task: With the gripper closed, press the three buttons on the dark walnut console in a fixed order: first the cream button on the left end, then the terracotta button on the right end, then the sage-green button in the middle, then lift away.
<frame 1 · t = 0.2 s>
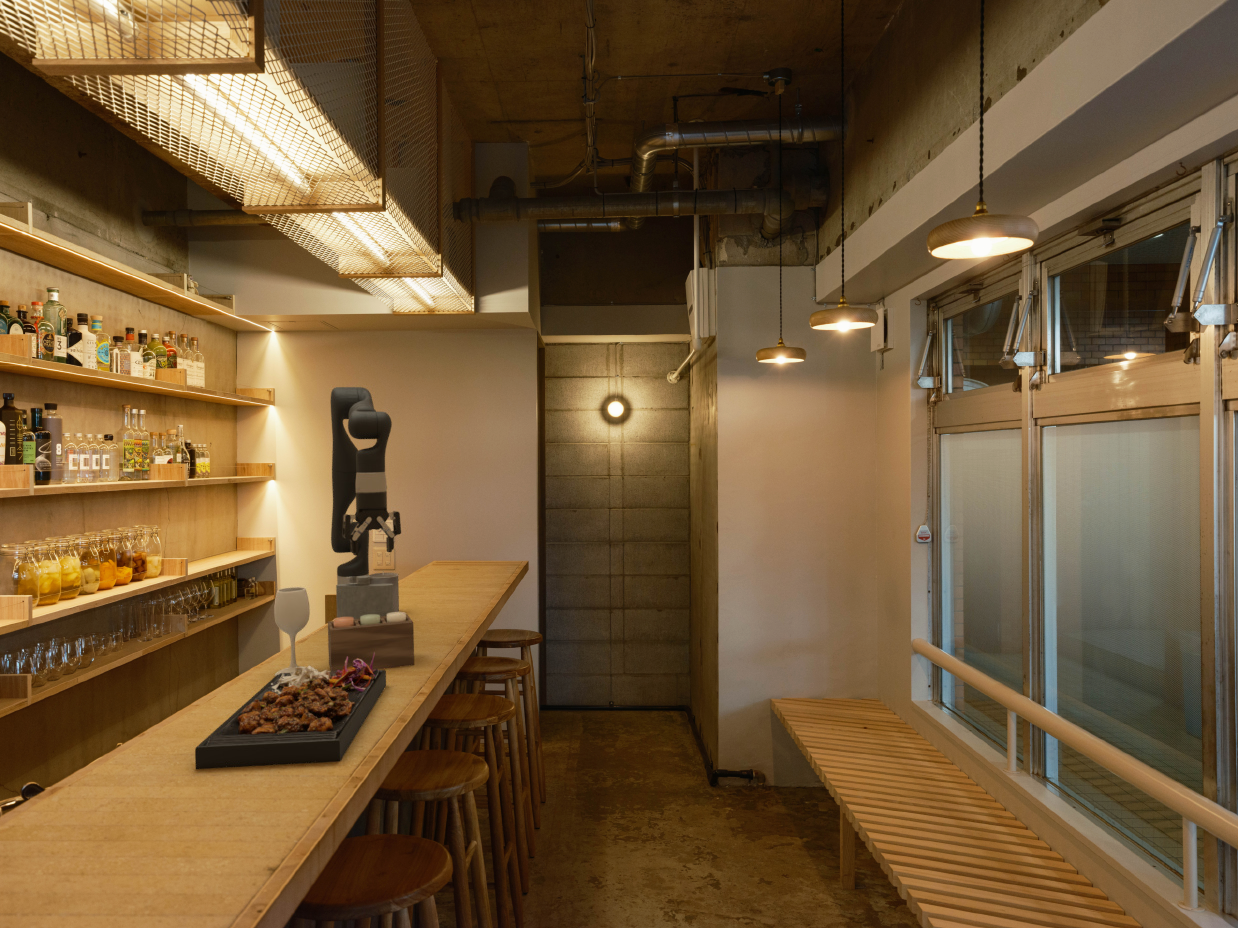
hand: (372, 553, 204), 29 cm above the table, tool pointing down, fingers open, 8 cm apart
terracotta button: (343, 625, 204), point 11 cm above the table, slide at 0.0 cm
cream button: (396, 620, 209), point 11 cm above the table, slide at 0.0 cm
sage button: (370, 622, 206), point 11 cm above the table, slide at 0.0 cm
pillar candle: (384, 616, 265), on the table
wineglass: (293, 674, 199), on the table
console: (371, 664, 206), on the table
food platter: (304, 725, 164), on the table
hip flask: (365, 647, 225), on the table
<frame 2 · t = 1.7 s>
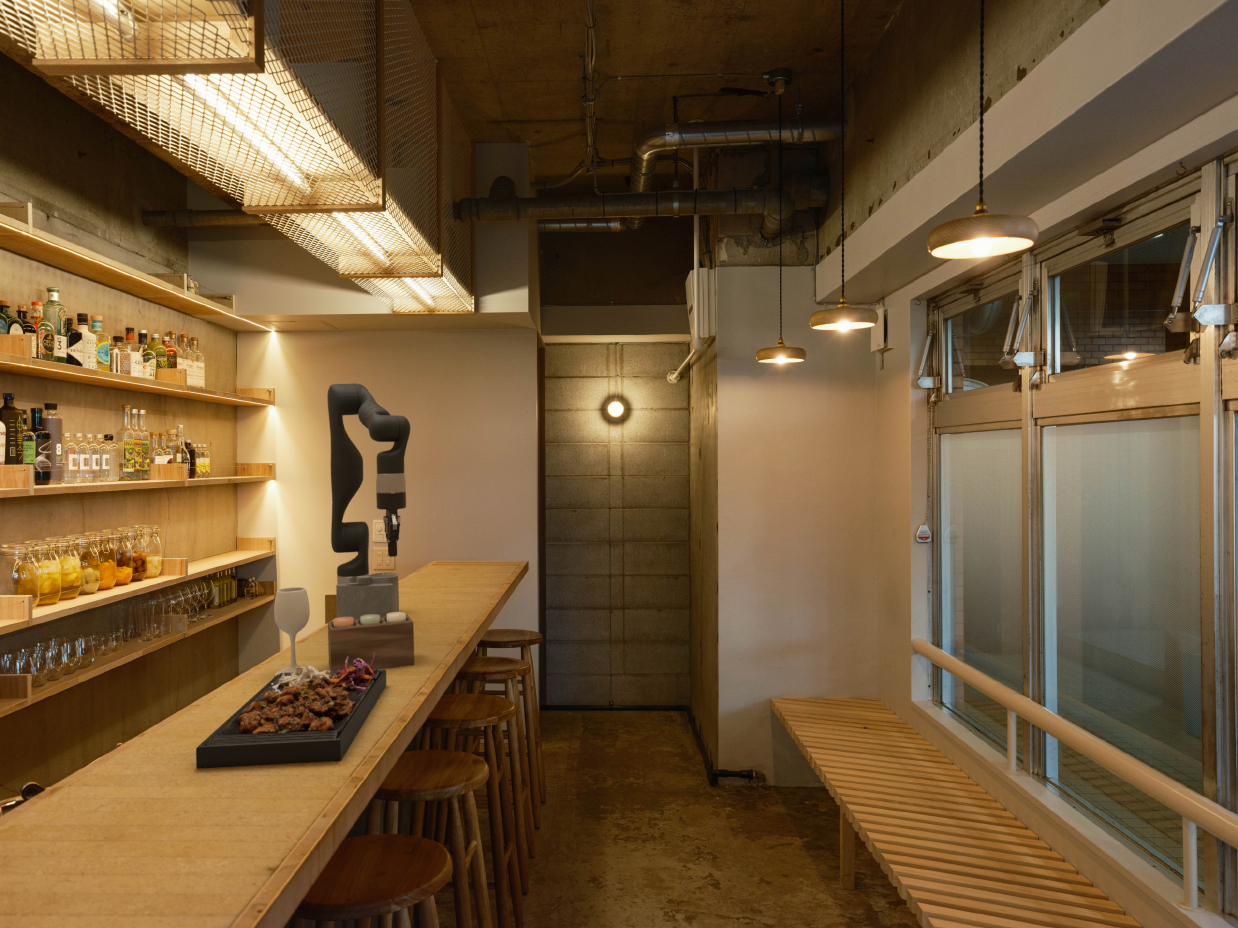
hand: (392, 556, 212), 27 cm above the table, tool pointing down, fingers closed
nothing on the table moved.
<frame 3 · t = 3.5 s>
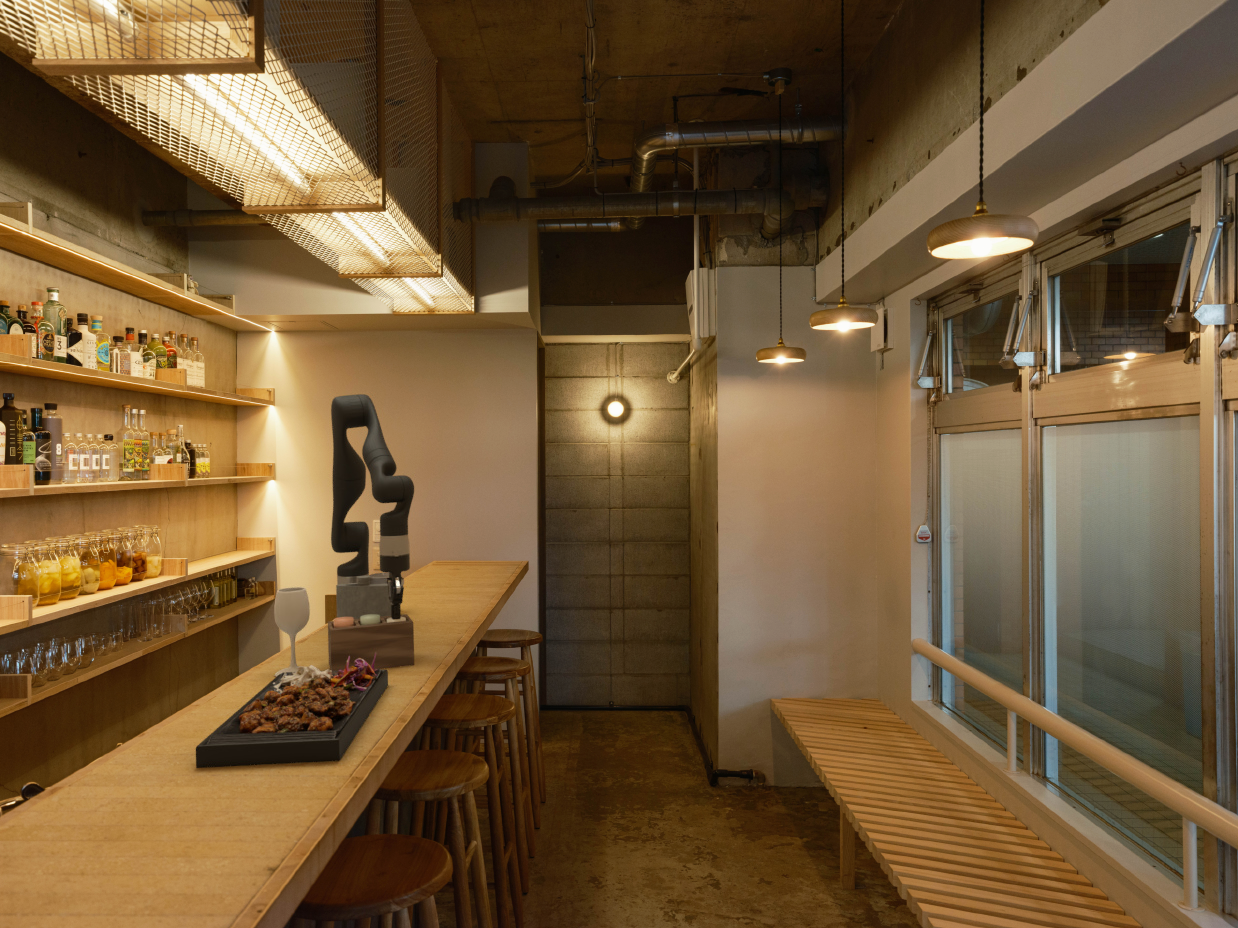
hand: (396, 618, 209), 11 cm above the table, tool pointing down, fingers closed
cream button: (396, 625, 209), point 9 cm above the table, slide at 1.3 cm, touching gripper
everything else where it was.
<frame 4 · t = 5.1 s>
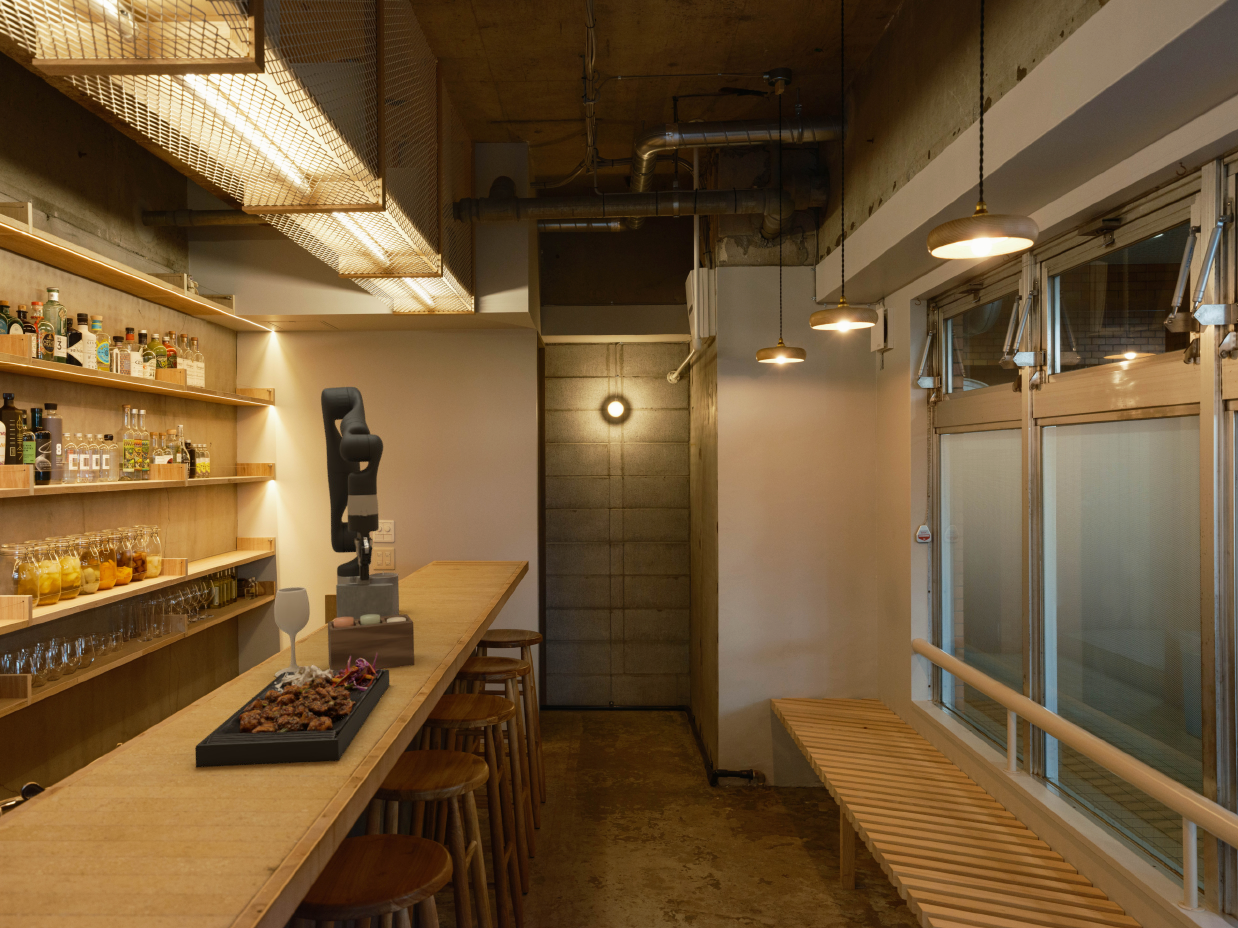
hand: (364, 579, 205), 22 cm above the table, tool pointing down, fingers closed
cream button: (396, 625, 209), point 9 cm above the table, slide at 1.4 cm
everything else where it was.
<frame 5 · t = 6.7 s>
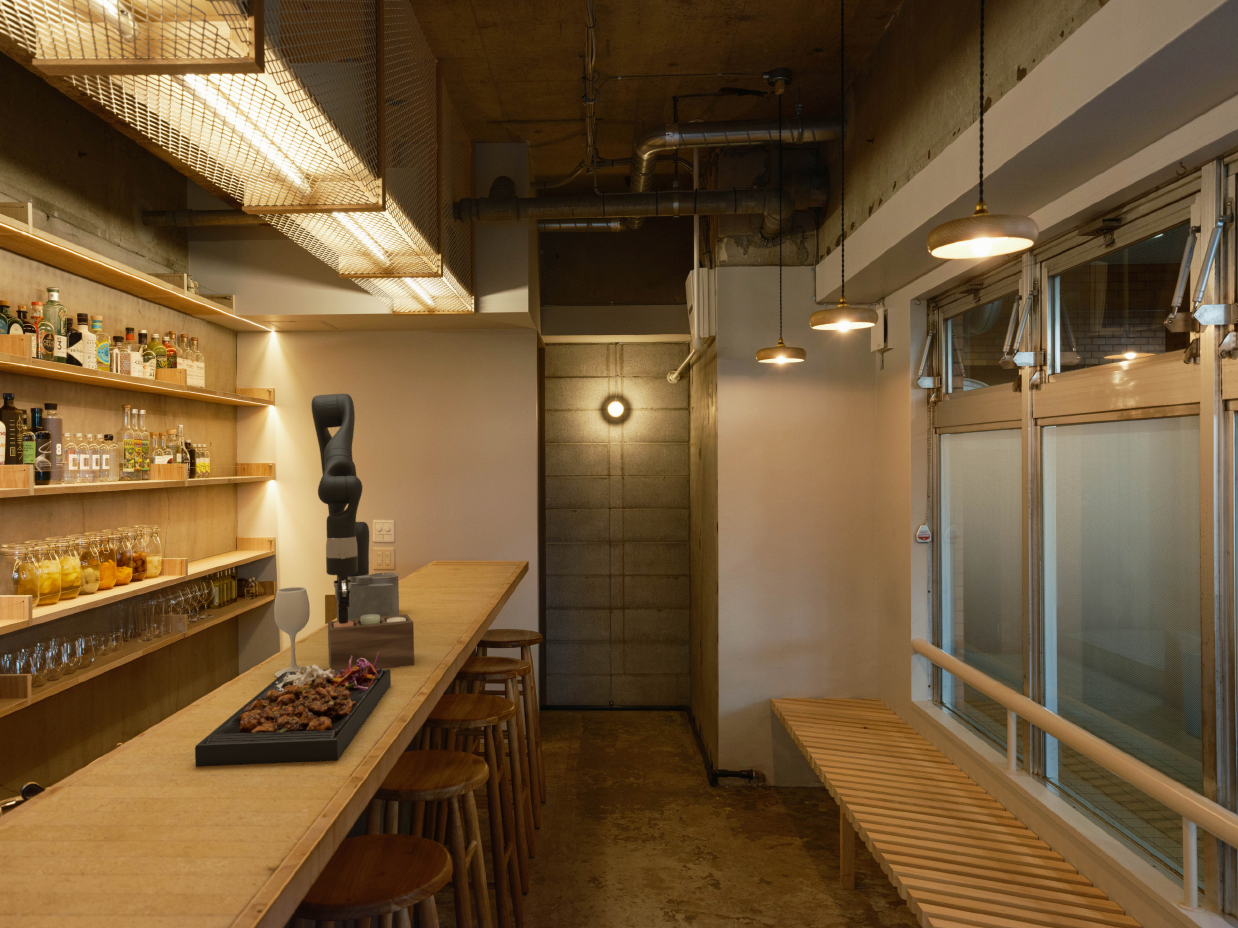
hand: (343, 622, 203), 11 cm above the table, tool pointing down, fingers closed
terracotta button: (343, 629, 204), point 10 cm above the table, slide at 1.0 cm, touching gripper
everything else where it was.
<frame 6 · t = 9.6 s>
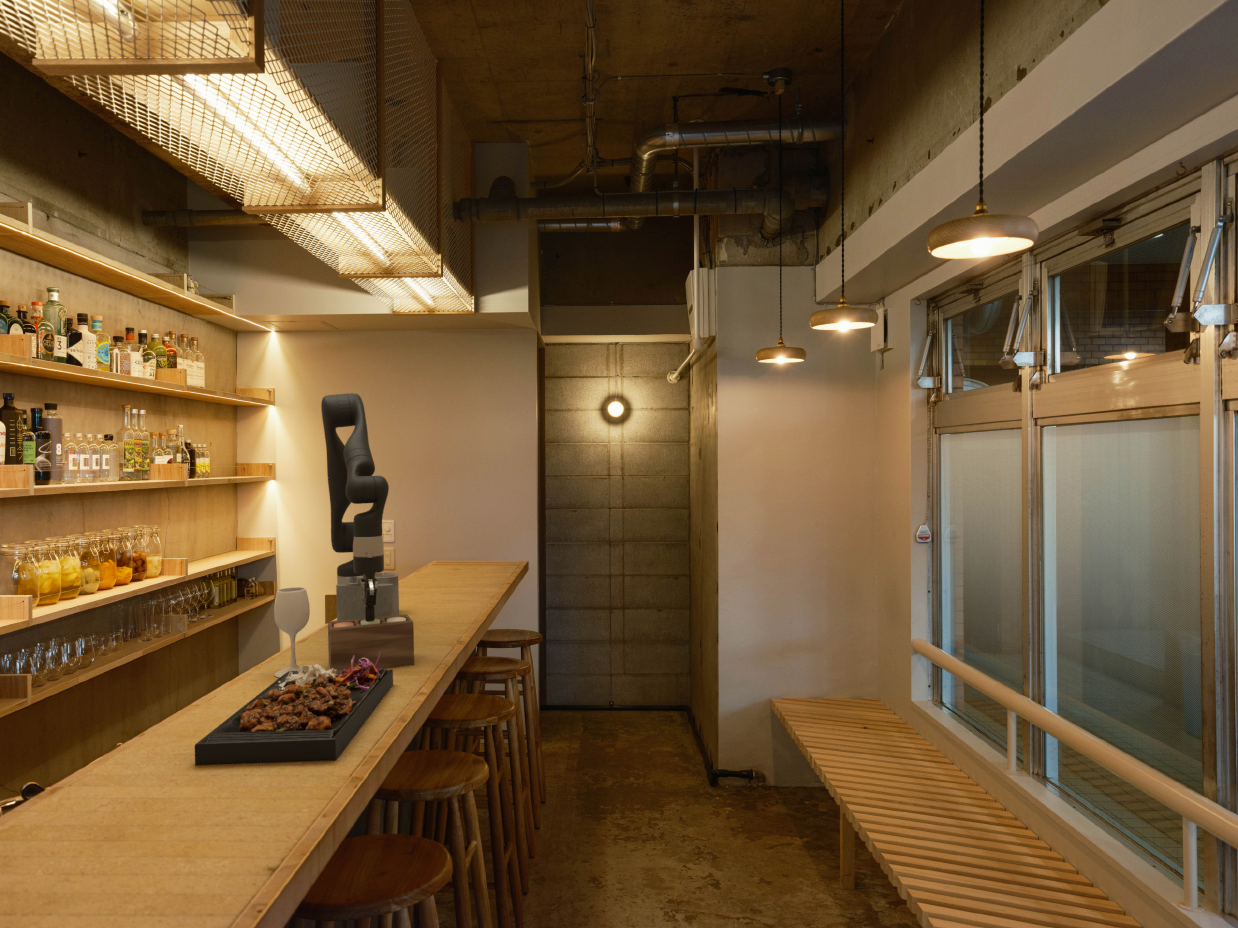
hand: (369, 620, 206), 11 cm above the table, tool pointing down, fingers closed
terracotta button: (343, 630, 204), point 9 cm above the table, slide at 1.4 cm
sage button: (370, 627, 206), point 10 cm above the table, slide at 1.2 cm, touching gripper
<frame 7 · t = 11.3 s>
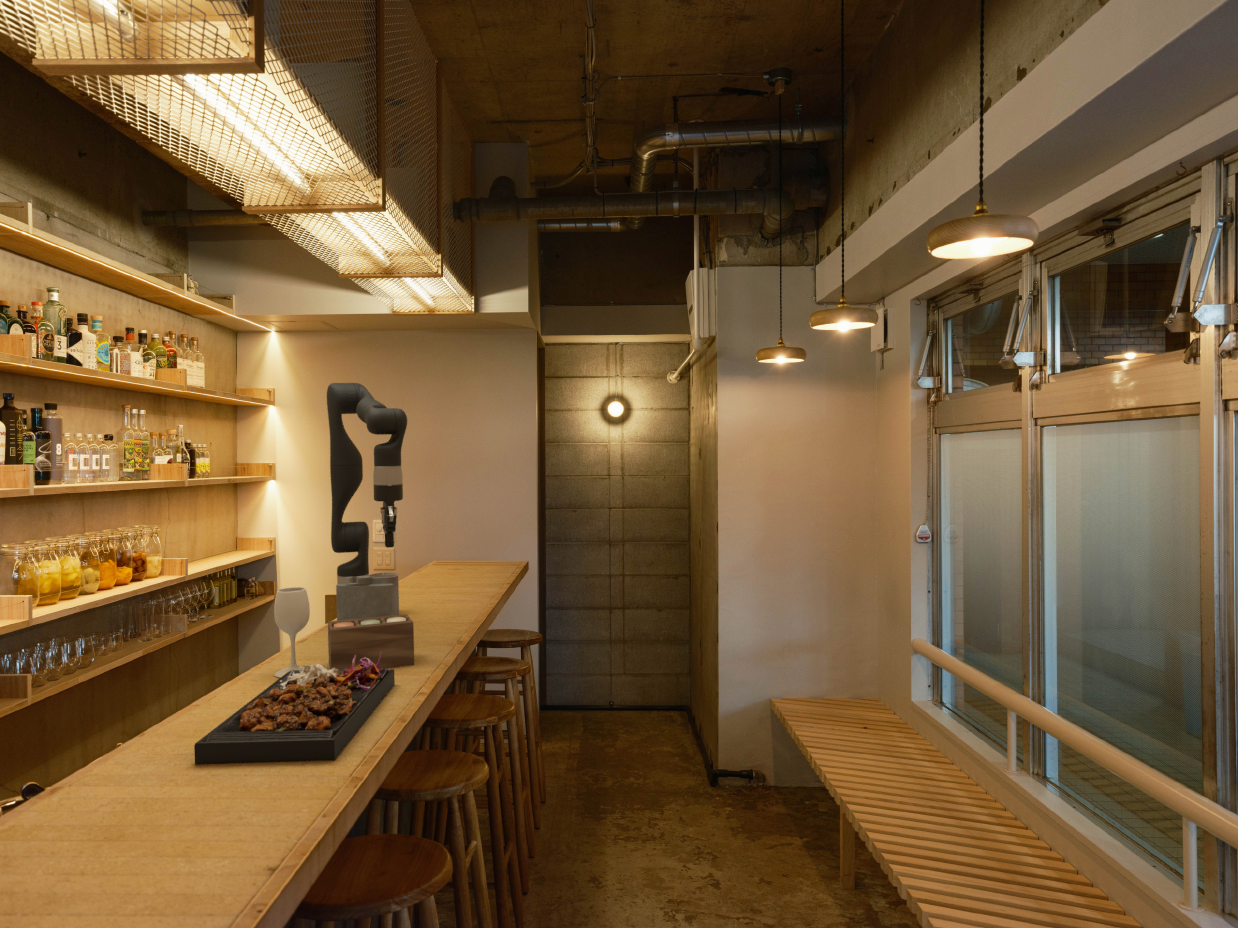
hand: (389, 546, 216), 29 cm above the table, tool pointing down, fingers closed
sage button: (370, 628, 206), point 9 cm above the table, slide at 1.4 cm
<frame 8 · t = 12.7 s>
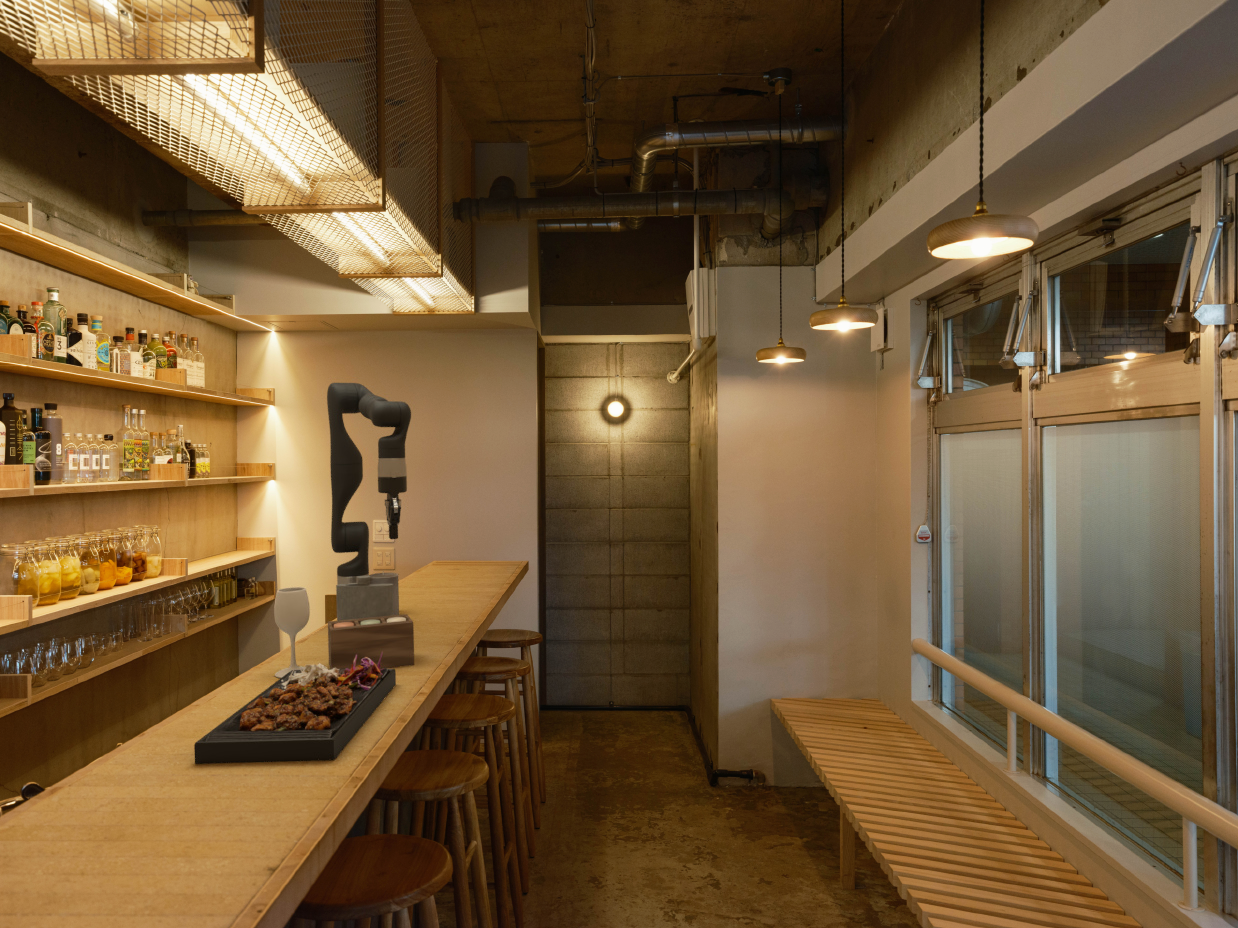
hand: (393, 538, 217), 31 cm above the table, tool pointing down, fingers closed
at the end: cream button slide at 1.4 cm; terracotta button slide at 1.4 cm; sage button slide at 1.4 cm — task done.
